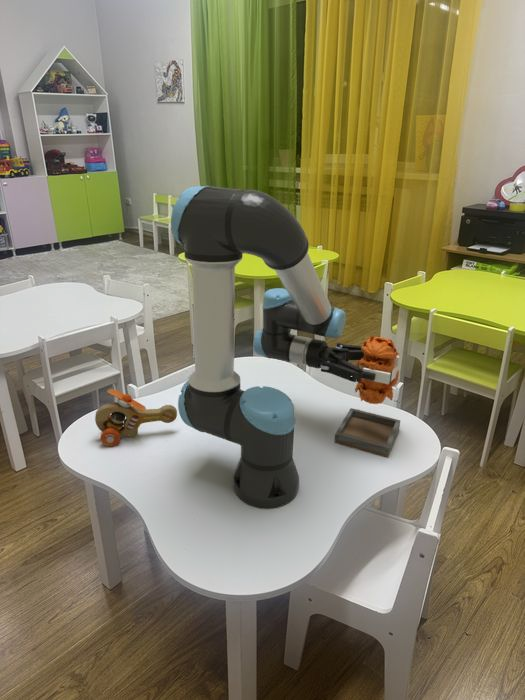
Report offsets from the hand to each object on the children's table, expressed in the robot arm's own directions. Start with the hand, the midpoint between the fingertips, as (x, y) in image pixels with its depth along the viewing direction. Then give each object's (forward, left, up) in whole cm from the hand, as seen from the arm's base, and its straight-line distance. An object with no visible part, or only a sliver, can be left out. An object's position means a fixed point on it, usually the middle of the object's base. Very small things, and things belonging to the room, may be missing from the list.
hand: (394, 369), depth 118 cm
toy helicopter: (-28, +60, -21) cm, 70 cm away
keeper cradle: (0, +4, -21) cm, 21 cm away
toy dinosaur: (0, +4, -10) cm, 11 cm away
